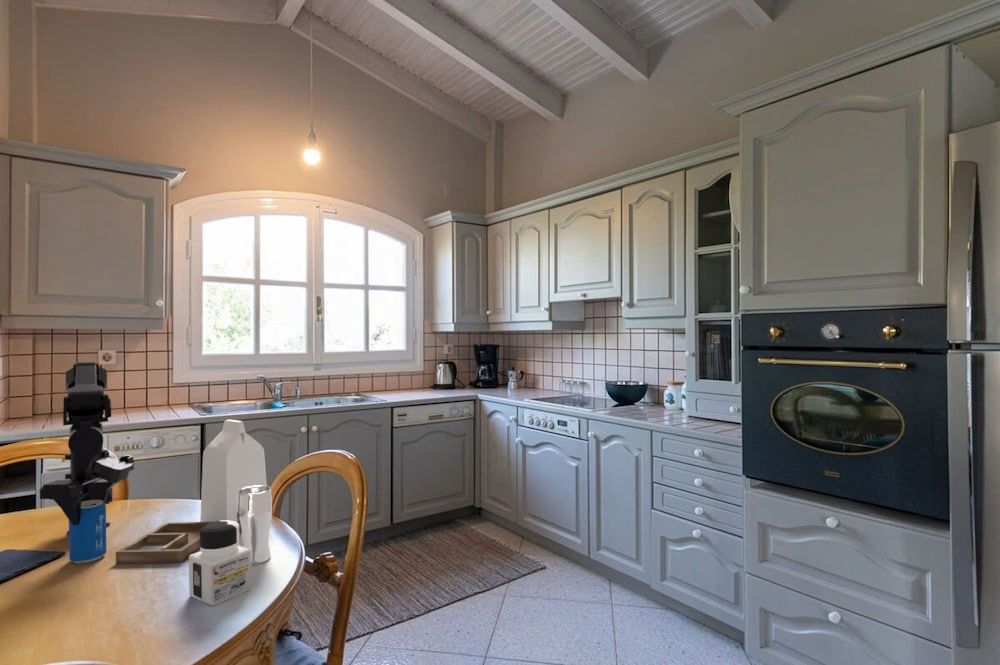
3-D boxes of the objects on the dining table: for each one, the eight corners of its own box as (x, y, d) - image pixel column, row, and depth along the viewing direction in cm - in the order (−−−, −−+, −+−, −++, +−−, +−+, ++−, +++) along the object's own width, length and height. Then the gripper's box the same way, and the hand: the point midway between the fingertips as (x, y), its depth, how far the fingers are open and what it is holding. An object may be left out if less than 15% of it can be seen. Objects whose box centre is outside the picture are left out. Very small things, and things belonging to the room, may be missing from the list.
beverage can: (86, 566, 115) (85, 509, 115) (61, 563, 117) (60, 507, 117) (114, 553, 122) (113, 499, 122) (89, 551, 123) (89, 498, 123)
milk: (269, 518, 144) (267, 419, 144) (227, 531, 134) (225, 426, 134) (242, 510, 151) (240, 416, 150) (200, 523, 141) (198, 422, 141)
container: (212, 607, 97) (211, 534, 97) (188, 596, 101) (187, 526, 101) (252, 589, 104) (251, 521, 104) (228, 580, 108) (227, 514, 108)
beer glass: (279, 555, 120) (278, 486, 120) (256, 568, 113) (255, 495, 113) (254, 551, 122) (253, 484, 122) (229, 564, 116) (228, 493, 116)
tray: (166, 532, 134) (166, 521, 134) (223, 531, 134) (223, 520, 134) (115, 563, 116) (115, 550, 116) (182, 562, 116) (182, 549, 116)
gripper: (92, 457, 110) (93, 534, 110) (150, 438, 129) (151, 505, 129) (36, 458, 110) (37, 535, 110) (102, 439, 128) (103, 506, 128)
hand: (87, 519), depth 119 cm, fingers closed on beverage can, 6 cm apart
